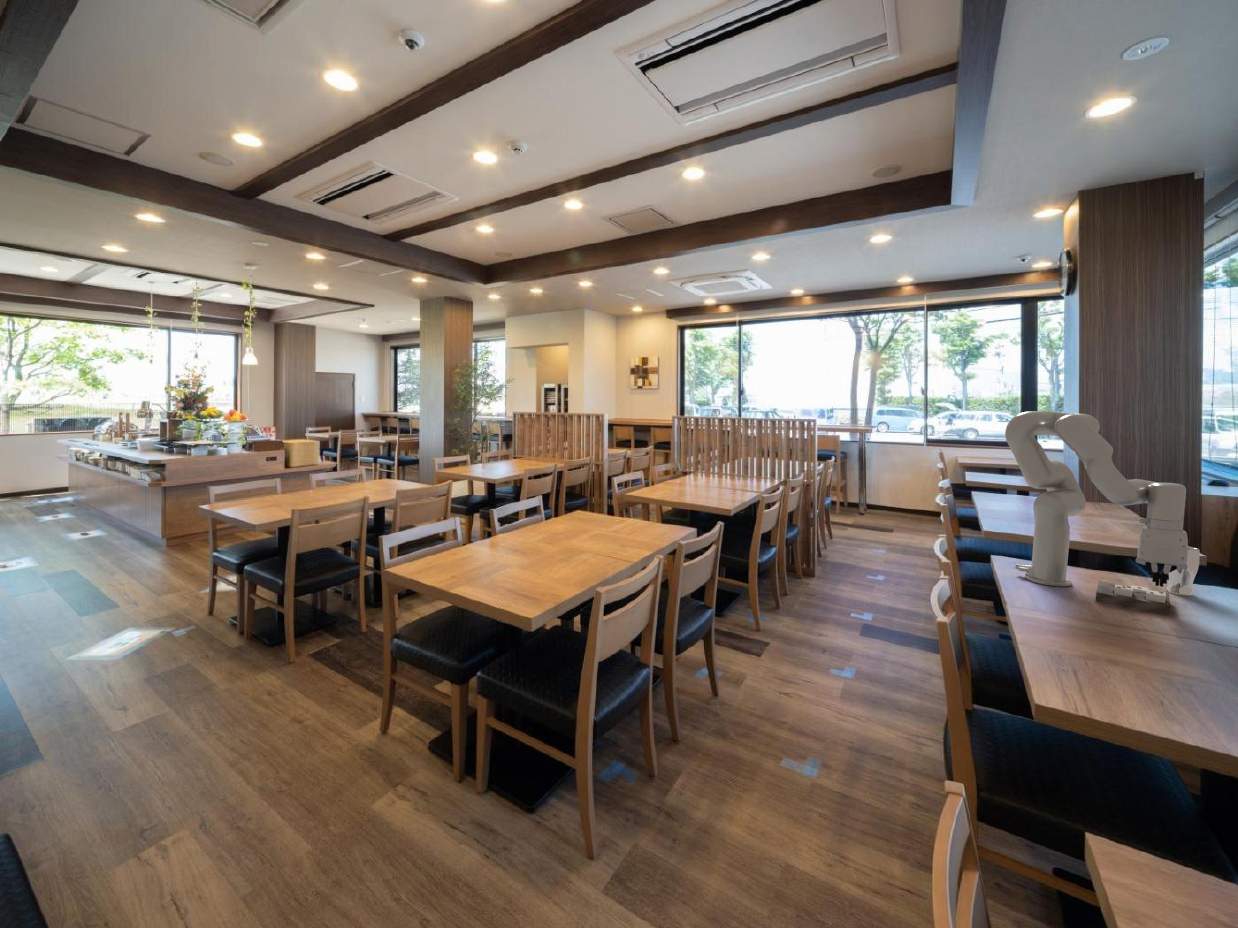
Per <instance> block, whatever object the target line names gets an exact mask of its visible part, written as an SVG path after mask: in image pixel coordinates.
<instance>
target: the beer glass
mask: <svg viewBox="0 0 1238 928" xmlns="http://www.w3.org/2000/svg"><path fill="white" fill-rule="evenodd" d="M1200 559H1201V558H1200V549H1199V548H1196V547H1193V546H1188V557H1187V567H1188V568H1187V569H1176V570H1174V571H1172V572H1170V573H1169V574H1168V583H1167V586H1166V588H1165V592H1166V593H1169V594H1172V595H1177V596H1181V597H1193V596H1194V590H1193V588H1194V587H1193V585H1194V584H1193V583H1194V580H1195V577H1196V575H1197V573H1198V571H1199V567H1200Z"/></svg>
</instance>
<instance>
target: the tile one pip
mask: <svg viewBox="0 0 1238 928" xmlns="http://www.w3.org/2000/svg"><path fill="white" fill-rule="evenodd" d="M1130 587H1133V591H1134V592H1140V593H1146V592H1147V590H1149V587H1144V586H1139V585H1130Z"/></svg>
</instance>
